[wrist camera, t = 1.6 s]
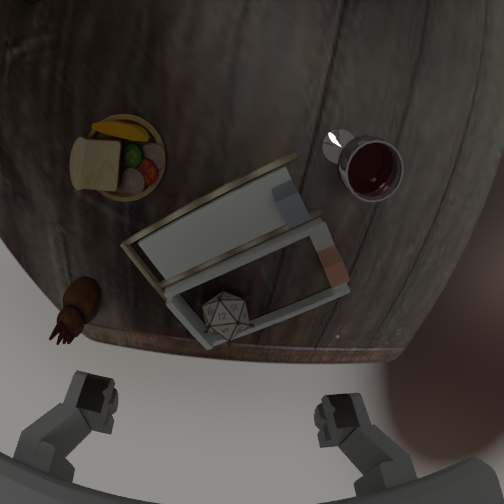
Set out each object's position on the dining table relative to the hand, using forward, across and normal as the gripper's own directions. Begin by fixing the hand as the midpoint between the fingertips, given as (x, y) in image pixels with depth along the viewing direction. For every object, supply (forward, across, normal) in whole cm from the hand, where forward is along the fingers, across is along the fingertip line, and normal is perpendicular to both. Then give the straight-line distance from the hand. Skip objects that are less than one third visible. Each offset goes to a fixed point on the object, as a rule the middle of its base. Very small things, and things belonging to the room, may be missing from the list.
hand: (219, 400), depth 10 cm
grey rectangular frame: (+34, -8, +19) cm, 39 cm away
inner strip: (+33, 0, +8) cm, 34 cm away
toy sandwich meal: (+34, +15, 0) cm, 37 cm away
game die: (+34, -3, +22) cm, 41 cm away
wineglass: (+33, -14, -6) cm, 37 cm away
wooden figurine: (+34, +22, +24) cm, 47 cm away
